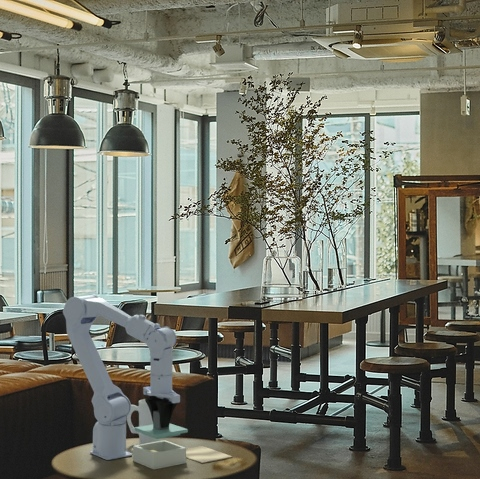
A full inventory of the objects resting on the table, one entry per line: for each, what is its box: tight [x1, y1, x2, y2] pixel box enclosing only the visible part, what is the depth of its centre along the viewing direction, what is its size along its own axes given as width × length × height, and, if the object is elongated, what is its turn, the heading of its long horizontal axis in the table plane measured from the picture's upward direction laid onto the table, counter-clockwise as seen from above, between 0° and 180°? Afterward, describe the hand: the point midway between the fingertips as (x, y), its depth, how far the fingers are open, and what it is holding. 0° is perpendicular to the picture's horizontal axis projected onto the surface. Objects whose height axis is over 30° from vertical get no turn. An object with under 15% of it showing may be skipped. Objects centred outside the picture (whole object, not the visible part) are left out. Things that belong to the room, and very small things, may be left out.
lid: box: [134, 410, 189, 439], centre depth 238 cm, size 10×10×6 cm
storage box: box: [132, 439, 187, 470], centre depth 238 cm, size 10×10×4 cm
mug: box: [126, 398, 163, 445], centre depth 258 cm, size 10×7×12 cm, turn 90°
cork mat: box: [186, 445, 234, 465], centre depth 246 cm, size 14×10×1 cm
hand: (161, 426), depth 238 cm, fingers closed on lid, 3 cm apart
